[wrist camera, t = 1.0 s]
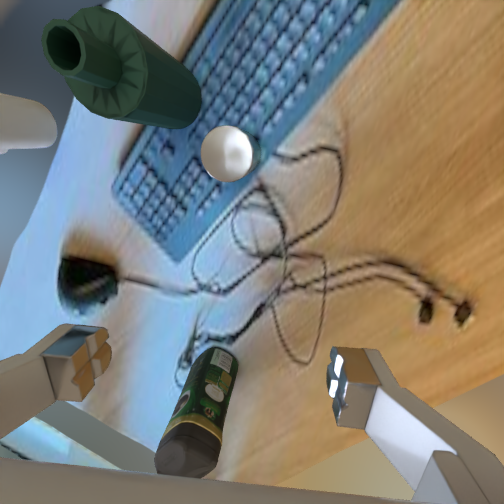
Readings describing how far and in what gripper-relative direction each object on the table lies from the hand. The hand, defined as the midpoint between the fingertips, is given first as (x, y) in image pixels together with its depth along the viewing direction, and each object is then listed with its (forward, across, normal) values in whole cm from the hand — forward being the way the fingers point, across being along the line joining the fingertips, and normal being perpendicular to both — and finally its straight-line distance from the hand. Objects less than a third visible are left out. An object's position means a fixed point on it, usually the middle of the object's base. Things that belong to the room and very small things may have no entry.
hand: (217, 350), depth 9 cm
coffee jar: (+32, +6, +32) cm, 46 cm away
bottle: (+30, +12, -14) cm, 35 cm away
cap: (+30, +2, -7) cm, 31 cm away
